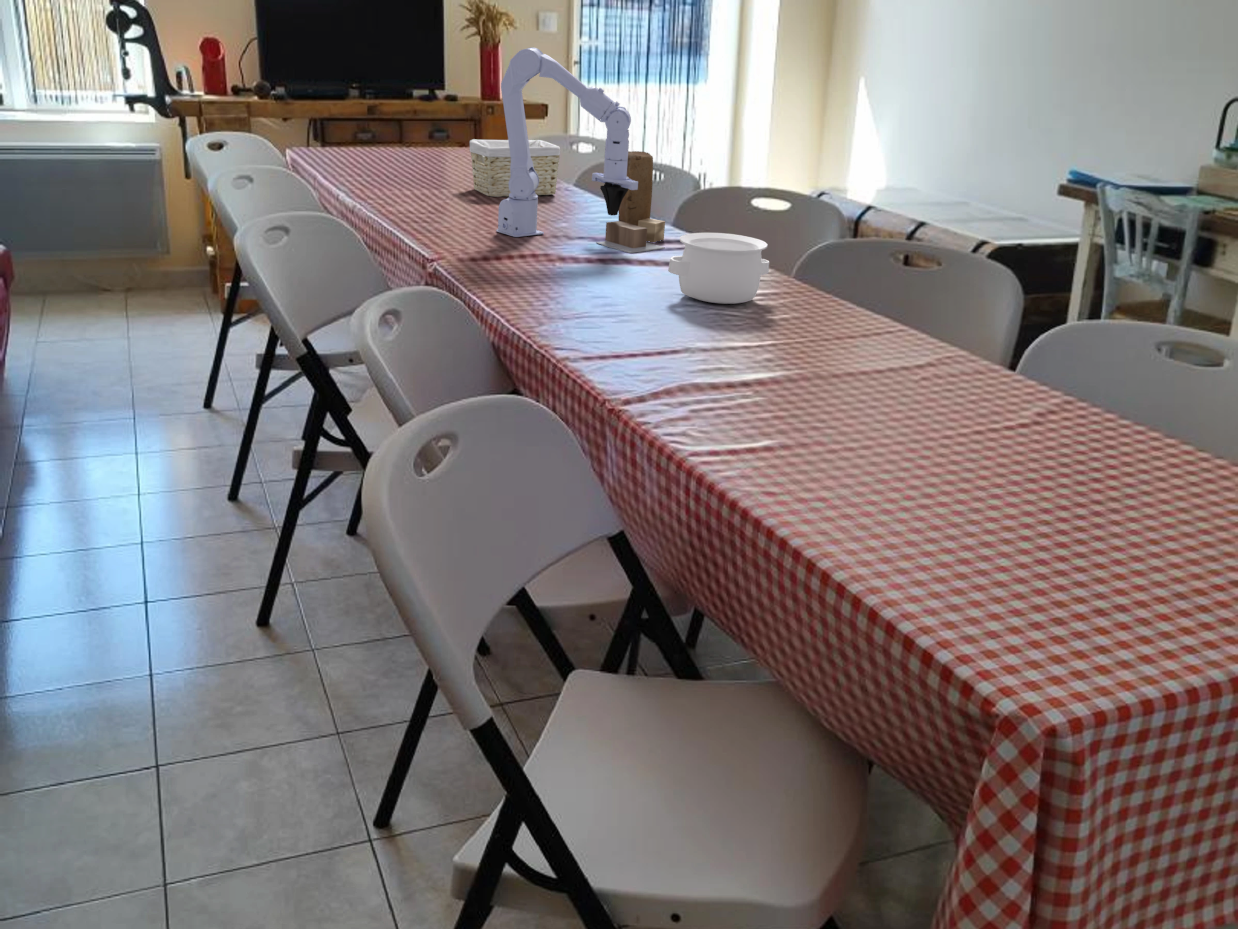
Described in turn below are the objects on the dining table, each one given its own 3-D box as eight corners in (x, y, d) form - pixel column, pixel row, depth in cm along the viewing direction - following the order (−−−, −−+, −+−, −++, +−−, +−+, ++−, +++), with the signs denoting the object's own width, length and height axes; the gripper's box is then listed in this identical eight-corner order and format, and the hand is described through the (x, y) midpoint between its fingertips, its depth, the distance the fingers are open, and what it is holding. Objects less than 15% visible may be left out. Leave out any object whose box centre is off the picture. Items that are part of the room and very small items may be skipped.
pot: (682, 311, 230) (687, 250, 225) (654, 289, 245) (658, 232, 240) (782, 309, 236) (789, 250, 232) (748, 288, 251) (755, 232, 247)
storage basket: (485, 198, 333) (486, 146, 328) (466, 188, 347) (467, 138, 341) (560, 197, 344) (563, 146, 338) (539, 187, 357) (541, 138, 351)
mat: (629, 253, 276) (629, 251, 276) (596, 243, 284) (596, 242, 284) (664, 248, 284) (664, 247, 284) (631, 239, 292) (631, 238, 292)
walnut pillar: (605, 240, 287) (632, 248, 281) (606, 222, 285) (634, 229, 279) (618, 238, 290) (645, 246, 284) (619, 220, 288) (647, 228, 282)
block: (650, 234, 300) (656, 155, 292) (622, 233, 298) (628, 154, 291) (640, 225, 310) (646, 149, 302) (613, 225, 308) (618, 148, 300)
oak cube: (653, 243, 290) (655, 223, 288) (636, 240, 292) (638, 220, 290) (663, 240, 294) (665, 221, 292) (646, 237, 296) (648, 218, 294)
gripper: (648, 162, 279) (644, 218, 284) (607, 154, 289) (604, 208, 294) (627, 163, 275) (623, 220, 280) (587, 155, 284) (584, 210, 289)
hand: (612, 214), depth 286 cm, fingers closed
